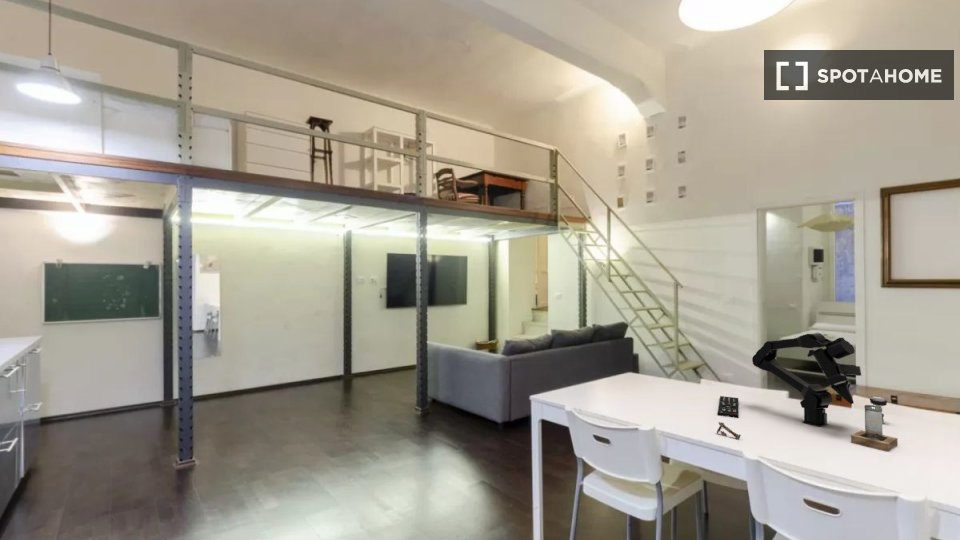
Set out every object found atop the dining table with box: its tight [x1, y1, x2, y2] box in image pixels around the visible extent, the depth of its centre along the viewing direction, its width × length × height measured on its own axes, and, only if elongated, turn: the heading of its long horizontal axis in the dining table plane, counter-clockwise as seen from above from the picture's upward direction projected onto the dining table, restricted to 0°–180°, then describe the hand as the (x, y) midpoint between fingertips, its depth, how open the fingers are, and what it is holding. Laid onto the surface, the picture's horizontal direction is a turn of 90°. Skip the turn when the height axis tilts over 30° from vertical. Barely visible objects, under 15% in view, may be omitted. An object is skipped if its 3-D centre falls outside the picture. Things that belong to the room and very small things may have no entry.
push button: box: [869, 396, 888, 424], centre depth 180 cm, size 7×5×10 cm
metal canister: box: [864, 404, 884, 441], centre depth 157 cm, size 5×5×13 cm
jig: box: [850, 429, 899, 452], centre depth 157 cm, size 10×10×2 cm
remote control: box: [717, 395, 739, 419], centre depth 202 cm, size 8×32×2 cm, turn 150°
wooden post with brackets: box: [716, 421, 742, 440], centre depth 166 cm, size 2×8×4 cm, turn 35°
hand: (851, 403), depth 168 cm, fingers open, 9 cm apart
